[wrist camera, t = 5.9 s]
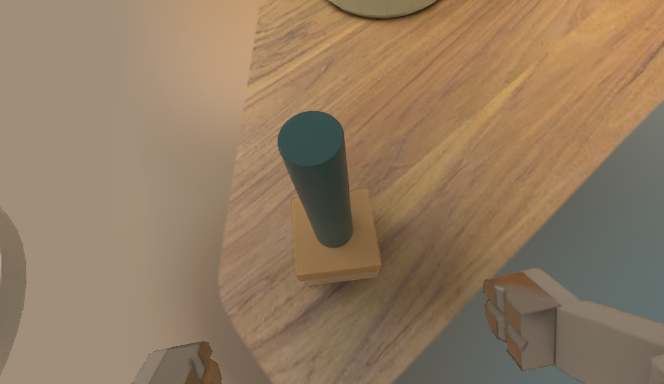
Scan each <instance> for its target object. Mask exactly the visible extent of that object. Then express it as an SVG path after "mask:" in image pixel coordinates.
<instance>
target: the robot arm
mask: <svg viewBox="0 0 664 384" xmlns="http://www.w3.org/2000/svg"><path fill="white" fill-rule="evenodd" d="M483 287H484V293H485V294H486V295H487V297H488V298H489V299H488V300H487V302H486V303H485V314H486V318H487V321H488V324H489V326H490V328H491V329H492V332H493V333H494V334H495V336H496V337H497V338H498V339H500V340H502V341H504V342H506V343H507V352H508V353H509V354H510V356H511V357H512V358H513V359H514V361H515V362H516V363H517V365H518V366H519V367H520V369H521V370H522V371H526V370H532V369H537V368H542V367H548V366H553V365H555V367H557V368H558V369H560V370H562V371H563V372H565V373H567V374H568V375H570V376H572V377H574V378H575V379H577V380H579V381H580V382H582V383H584V384H664V324H662V323H658V322H655V321H652V320H649V319H646V318H643V317H639V316H636V315H633V314H630V313H627V312H623V311H620V310H617V309H614V308H611V307H608V306H604V305H601V304H598V303H595V302H591V301H584V302H582V301H581V300H580V299H579V298H577V297H576V296H575V295H573V294H572V293H571V292H570V291H568V290H567V289H566V288H564V287H563V286H562V285H561V284H559V283H558V282H557V281H555V280H554V279H553V278H552V277H550V276H549V275H548V274H546V273H545V272H544V271H542V270H541V269H539V268H532V269H528V270H524V271H520V272H518V273H514V274H509V275H505V276H500V277H496V278H491V279H487V280H485V281H484V284H483ZM211 354H212V349H211V347H210V345H209V343H208V342H206V341H202V342H196V343H191V344H187V345H181V346H176V347H171V348H167V349H162V350H157V351H154V352H152V353H151V354H149V356H148V358H147V359H146V361H145V363H144V364H143V366H142V368H141V369H140V371H139V373H138V374H137V376H136V378H135V379H134V381H133V383H132V384H221V380H222V378H221V373H220V369H219V366H218V364H217V363H216V362H215V361H213V360H211V359H210V357H211Z"/></svg>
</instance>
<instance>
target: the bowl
mask: <svg viewBox="0 0 664 384" xmlns="http://www.w3.org/2000/svg"><path fill="white" fill-rule="evenodd" d="M329 1H330V2H332V3H333V4H335V5H337V6H338V7H340V8H341V9H343V10H345V11H347V12H349V13H352V14H354V15H358V16H362V17H369V18H393V17H400V16H405V15H408V14H412V13H414V12H417V11H419V10H421V9H423V8H425V7H427V6H429V5H431V4H432V3H434V2H435V1H436V0H329Z"/></svg>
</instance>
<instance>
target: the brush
mask: <svg viewBox="0 0 664 384" xmlns="http://www.w3.org/2000/svg"><path fill="white" fill-rule="evenodd" d="M278 148H279V151H280V153H281V156H282V158H283V160H284V163H285V165H286V167H287V170H288V172H289V174H290V177H291V179H292V181H293V184H294V186H295V189H296V191H297V193H298V196H299V198H294V199H292V200H291V201H292V218H293V235H294V252H295V269H296V276H297V278H298V279H299V280H300V281H304V282H305V283H306V284H307V285H308V286H312V285H320V284H328V283H335V282H343V281H351V280H359V279H367V278H374V277H377V276H378V271H380V270H381V266H382V262H381V257H380V251H379V246H378V240H377V234H376V229H375V223H374V217H373V212H372V206H371V200H370V195H369V189H360V190H352V191H349V182H348V172H347V161H346V151H345V140H344V132H343V128H342V126H341V125H340V123H339V122H338V121H337V120H336V119H335V118H334V117H333V116H331V115H329V114H327V113H324V112H320V111H307V112H303V113H300V114H297V115H295V116H293V117H292V118H290V119H289V120H288V121H287V122H286V123H285V124H284V125H283V127H282V128H281V130H280V132H279V135H278Z"/></svg>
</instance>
